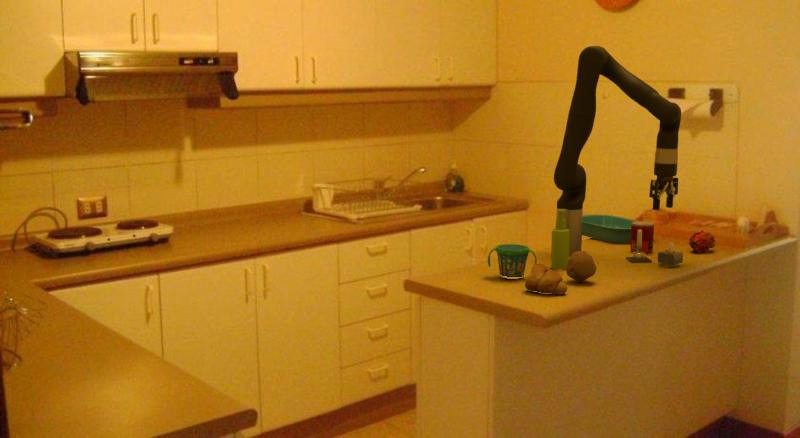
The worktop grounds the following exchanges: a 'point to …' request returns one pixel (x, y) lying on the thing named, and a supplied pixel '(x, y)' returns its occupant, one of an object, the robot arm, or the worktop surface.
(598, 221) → the casserole dish
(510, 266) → the snack cup
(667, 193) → the robot arm
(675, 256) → the gray block
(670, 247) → the hub
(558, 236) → the soap dispenser
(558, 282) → the bread roll
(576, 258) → the natural sponge
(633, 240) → the canned food
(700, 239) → the dragon fruit
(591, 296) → the worktop surface
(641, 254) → the stand
